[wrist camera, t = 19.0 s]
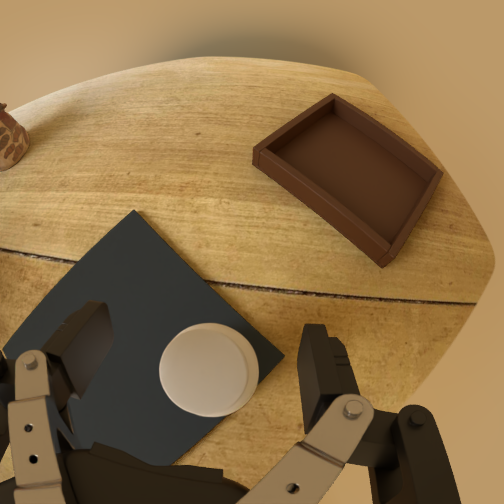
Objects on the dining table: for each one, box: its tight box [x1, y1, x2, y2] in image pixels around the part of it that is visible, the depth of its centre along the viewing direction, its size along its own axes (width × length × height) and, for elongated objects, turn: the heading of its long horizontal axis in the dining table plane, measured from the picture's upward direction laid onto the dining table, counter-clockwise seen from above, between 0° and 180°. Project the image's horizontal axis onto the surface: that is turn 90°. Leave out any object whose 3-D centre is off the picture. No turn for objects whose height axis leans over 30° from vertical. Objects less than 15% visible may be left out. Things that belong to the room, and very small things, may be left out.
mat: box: [3, 210, 285, 466], centre depth 20 cm, size 18×20×1 cm
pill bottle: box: [159, 323, 259, 417], centre depth 16 cm, size 5×5×9 cm
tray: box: [252, 93, 443, 268], centre depth 27 cm, size 16×14×2 cm
